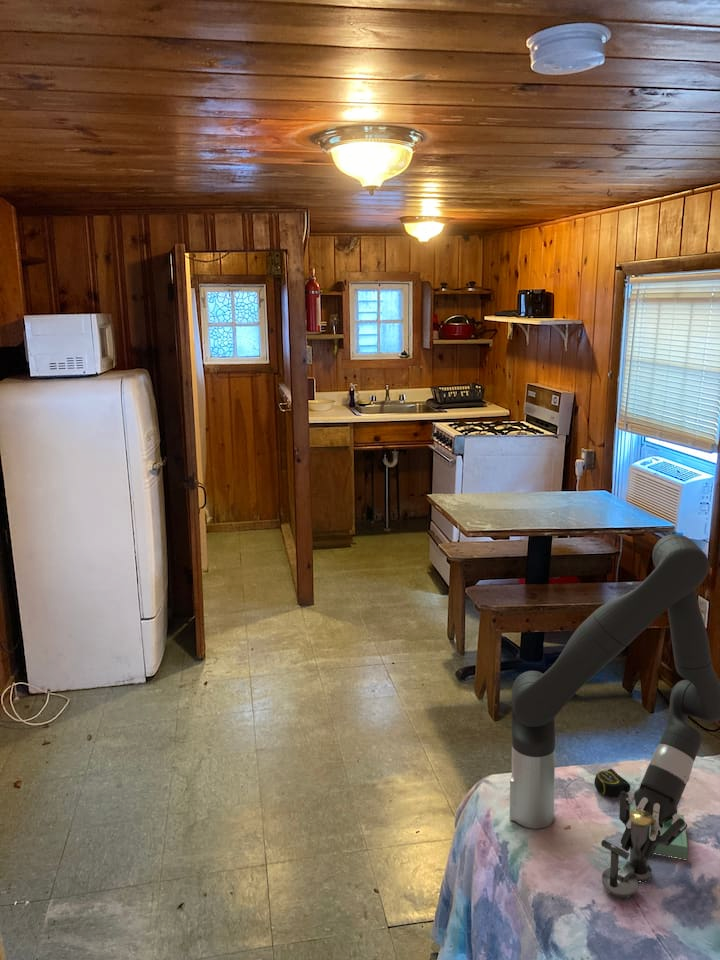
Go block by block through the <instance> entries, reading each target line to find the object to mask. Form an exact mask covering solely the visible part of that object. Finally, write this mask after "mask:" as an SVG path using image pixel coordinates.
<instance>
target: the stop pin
mask: <svg viewBox="0 0 720 960" xmlns="http://www.w3.org/2000/svg"><path fill="white" fill-rule="evenodd" d="M630 820H631V840H630V848H629V861H627V862H626V863H625V865H626V864H628V865H630V866H632V867H633V868H634V872H633V873H632V874H633V875H634V876H635V877H636V879H637V881H641V882H645V881H648V880H649V879H650V878H651V879H652V868H651V866H650V865H649V860H648V861H647V862H646V861H644V860H643V859H641V858H640V856H641V853H642V851H643V848H644V846H645V844H646V841H647V839H648V840H649V833H650V825H651V823H652V816H651V814H650V813H649V812H647V811H645V810H642V809H634V810H632V811H631V810H630ZM651 879H650V880H651ZM650 880H649V881H650ZM649 881H648V882H649ZM645 883H646V882H645Z"/></svg>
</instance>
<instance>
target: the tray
mask: <svg viewBox="0 0 720 960" xmlns="http://www.w3.org/2000/svg"><path fill="white" fill-rule="evenodd" d="M636 808H637V807H636V806H631V805H630V812H631V811H632V810H634V809H636ZM677 815H678V816H679V817H680V818H681V819H683V820H684V821H685V816H684V815H685V814H681V813H680V814H679V813H677ZM672 821H673V818H672V819H670V820H669V821H667V822H665V823H664V827H663V832H662V833H661V835H662V834H663V833H664V832H665V831H666V830H667V829H668V828H669V827H671V826H672ZM685 822H686V821H685ZM686 830H687V828H686V829H685V830H684V831H683V832H682V833H681V834H680V835H679V836H678V837H677V838H676V839H675V840H674V841H673V842H672V843H671V844H670V845H669V846H665V845H662V844H659V845H657V847H656V849H655V852H654V853H656V854H661V855H665V856H670V857H671V856H672V857H677V858H681V859H687V860H688V840H687V839H688V838H687V832H686ZM650 832H651V825H650ZM649 839H650V833H649Z"/></svg>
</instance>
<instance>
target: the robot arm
mask: <svg viewBox="0 0 720 960" xmlns="http://www.w3.org/2000/svg"><path fill="white" fill-rule="evenodd" d="M651 555H652V563H653V566H654V570H652V571H651V573H650V574H649V575H648V576H647V577H645V579H644V580H642V582H641V583H640V584H639V585H638V586H636V587H635V588H634V589H632V590H631V591H629V592H627V593H624V594H623V595H621V596H618V597H616V598H614V599H611V600H610V601H608V602H605V603H604V604H602V605H601V606H599V607H598V608H596V609H595V610H594V611H593V612H592V613H591V615H589V616H587V618H586V619H585V620H584V621H583V622H581V623H580V625H579V626H578V627H577V628H576V629H575V631H574V632H573V634H571V636H570V638H569V639H568V641H567V643H566V644H565V645H564V648H563V649H562V650H561V653H560V654H559V656H558V657H557V658H556V660H555V661H554V663H553V664H552V665H551V667H549V668H548V669H547V670H546V671H545V672H544V673H543V672H541V671H537V670H528V671H524V672H523V673H521V674H519V675H518V676H517V677H516V678H515V679H514V682H513V684H512V687H511V776H510V781H509V820H510V821H513V822H515V823H517V824H518V825H520V826H522V827H525V828H529V829H534V830H535V829H536V830H538V829H544V828H546V827H549V826H550V825H551V824H552V823H553V822H554V819H555V818H554V817H555V816H554V814H555V769H556V766H555V765H556V723H555V722H556V721H555V720H556V719H555V717H556V716H557V715H558V714H559V713H560V711H561V710H562V709H563V708H564V707H565V706H566V705H567V703H568V702H569V701H570V700H571V699H572V698H573V696H574V695H575V694H576V693H577V692H578V691H579V690H580V689H581V688H582V687H583V686H584V685H585V684H586V683H588V682H589V681H590V680H591V679H592V678H594V676H595V675H597V674H598V673H599V672H601V670H602V669H603V668H605V666H607V665H608V664H609V663H610V662H611V661H612V660H613V659H615V658H617V656H618V655H619V654H621V652H622V651H624V650H625V649H626V648H627V647H628V646H629V645H630V644H631V643H632V642H633V641H634V640H635V639H636V638H637V637H638V636H639V635H641V633H643V632H644V631H645V630H646V629H647V628H648V627H649V626H651V624H652V623H654V622H655V621H656V620H657V618H659V617H660V616H661V615H662V614H663V613H664V612H666V611H667V616H668V622H669V630H670V631H669V632H670V637H671V645H672V647H671V648H672V654H673V660H674V665H675V666H674V668H675V670H676V672H677V674H678V675H679V676H680V677H681V678H683V679H682V680H680V681H678V682H676V683H675V685H674V686H672V689H671V692H670V698H669V709H668V715H667V722H666V728H665V730H664V732H663V735H662V737H661V740H660V741H659V744H658V745H657V748H656V749H655V751H654V752H653V755H652V757H651V759H650V761H649V764H648V766H647V768H646V770H645V772H644V773H645V774H644V775H643V778H642V780H641V783H640V785H639V787H638V789H637V790H635V792H628V793H626V792H625V791H621V792H620V796H619V817H618V819H619V820H620V822H622V823H623V825H624V826H625V829H624V832H623V834H622V836H621V839H620V844H621V849H622V850H624V851H626V852H629V851H630V840H631V820H630V812H631V805H632V804H633V802H635V807H637V808H636V809H642V810H645V811H647V812H649V813H650V814H651V816H652V823H651V832H650V839H649V840H648V839H647V841H646V844H645V846H644V848H643V851H642V853H641V856H640V858H641V859H643V860H644V861H646V862H647V861H648V862H649V861H650V860H652V859H653V857H654V855H653V854H654V852H655V849H656V847H657V845H659V844H662V845H665V846H669V845H670V844H671V843H672V842H673V841H674V840H675V839H676V838H677V837H678V836H679V835H680V834H681V833H682V832H683V831H684V830H685V829H686V830H687V829H688V823H687V822H686V821H684V820H685V819H684V820H683V819H681V818H680V817H679V816H678V815H677V814H678V805H679V803H680V800H681V799H682V796H683V793H684V790H685V789H686V785H687V784H688V782H689V780H690V777H691V773H692V770H693V765H694V764H695V760H696V758H697V755H698V753H699V750H700V748H701V745H702V742H703V735H702V733H701V732H700V731H699V730H698V729H697V728H695V727H694V726H692V725H691V724H689V723H688V718H689V716H690V717H693V718H696V719H699V720H702V721H704V722H709V723H716V722H719V721H720V680H719V678H718V675H717V673H716V671H715V669H714V667H713V664H712V655H711V648H710V647H711V646H710V642H709V640H710V639H709V636H708V633H707V629H706V625H705V621H704V618H703V615H702V611H701V608H700V605H699V600H698V596H697V595H698V594H697V588H698V587H699V586H700V585H701V584H702V583H703V582H704V581H705V579H706V578H707V576H708V574H709V571H710V562H709V558H708V556H707V555H706V553H705V552H704V551H703V550H702V549H701V548H700V547H699V546H698V545H697V543H696V542H694V541H693V540H692V539H690V538H689V537H687V536H685V535H683V534H680V533H670V534H667V535H665V536H663V537H661V538H659V539H658V541H657V542H656V543H655V545H654V547H653V550H652V554H651ZM672 818H673V821H672V826H671V827H669V828H668V829H667V830H666V831H665V832H664V833H663V834H662V835H661V833H662V832H663V827H664V823H665V822H667V821H669V820H670V819H672Z"/></svg>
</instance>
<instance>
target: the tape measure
mask: <svg viewBox="0 0 720 960" xmlns="http://www.w3.org/2000/svg"><path fill="white" fill-rule="evenodd" d="M593 782H594V787H595V789H596V790H597V792H599V793H600V794H602V795H603V796H606V797H609V798H617V797H619V798H620V792H621V791H625V792H626V793H630V791H631V784H630V783H629V782H628V781H627V780H626V779H624V778H623V777H622V776H621V775H619V774H618V773H617V772H616V771H615V770H614V769H612V768H609V769H607V770H600V771H598V772H597V773H596V774H595V777H594V781H593Z"/></svg>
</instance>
